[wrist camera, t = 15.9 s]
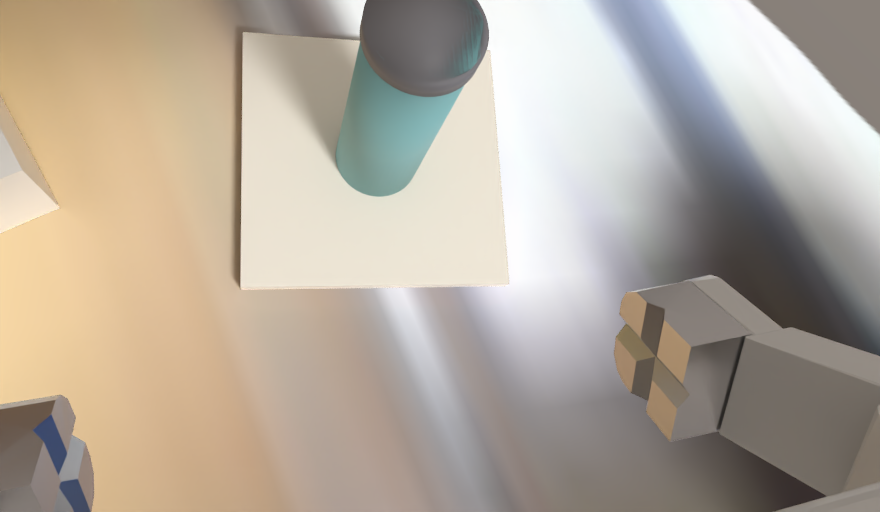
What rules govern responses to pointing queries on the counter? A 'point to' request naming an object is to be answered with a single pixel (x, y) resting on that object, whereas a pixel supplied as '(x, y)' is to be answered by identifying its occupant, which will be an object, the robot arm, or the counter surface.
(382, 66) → the tumbler
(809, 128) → the counter surface
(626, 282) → the counter surface
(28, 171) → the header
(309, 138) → the mat
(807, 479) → the robot arm
